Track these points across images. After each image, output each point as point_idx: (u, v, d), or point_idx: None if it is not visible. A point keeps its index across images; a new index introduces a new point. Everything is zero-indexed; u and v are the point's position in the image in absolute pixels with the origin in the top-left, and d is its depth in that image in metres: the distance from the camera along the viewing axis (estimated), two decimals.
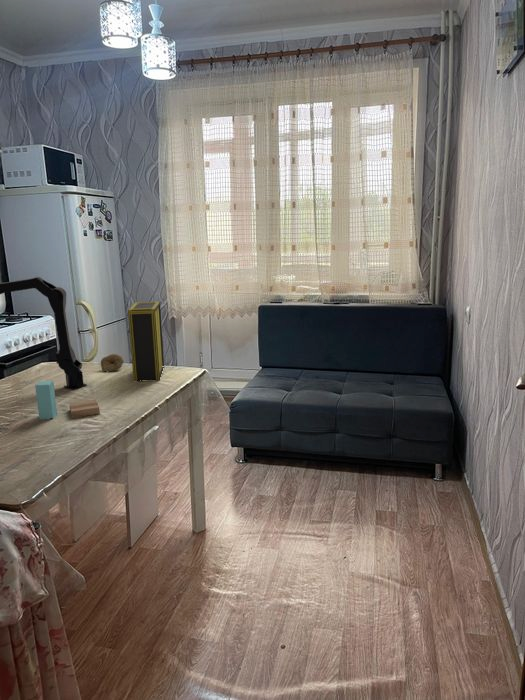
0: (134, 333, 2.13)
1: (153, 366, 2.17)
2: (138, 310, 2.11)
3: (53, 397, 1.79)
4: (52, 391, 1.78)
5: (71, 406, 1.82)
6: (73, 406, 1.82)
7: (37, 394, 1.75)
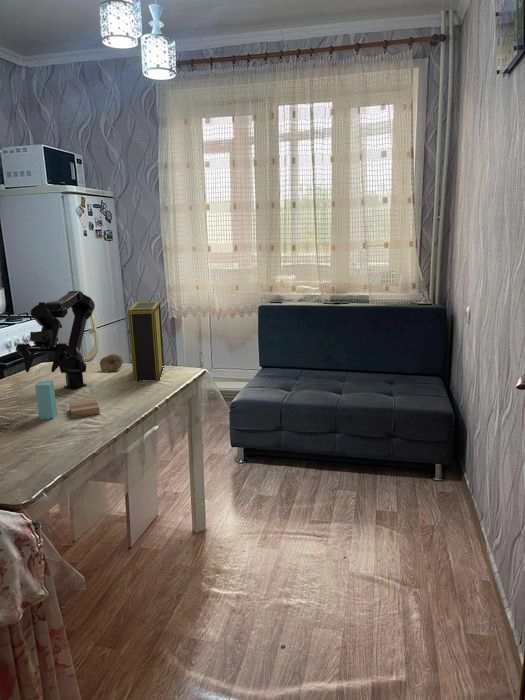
0: (134, 333, 2.13)
1: (153, 366, 2.17)
2: (138, 310, 2.11)
3: (53, 397, 1.79)
4: (52, 391, 1.78)
5: (71, 406, 1.82)
6: (73, 406, 1.82)
7: (37, 394, 1.75)
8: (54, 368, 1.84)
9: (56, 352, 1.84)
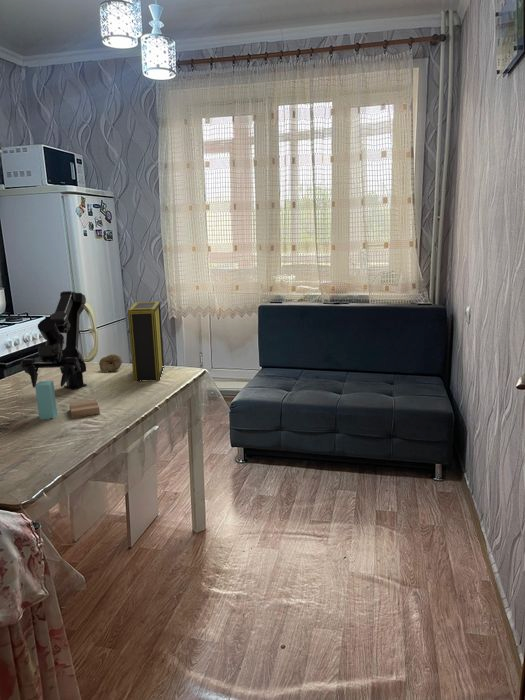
0: (134, 333, 2.13)
1: (153, 366, 2.17)
2: (138, 310, 2.11)
3: (53, 397, 1.79)
4: (52, 391, 1.78)
5: (71, 406, 1.82)
6: (73, 406, 1.82)
7: (37, 394, 1.75)
8: (63, 382, 1.81)
9: (65, 366, 1.82)
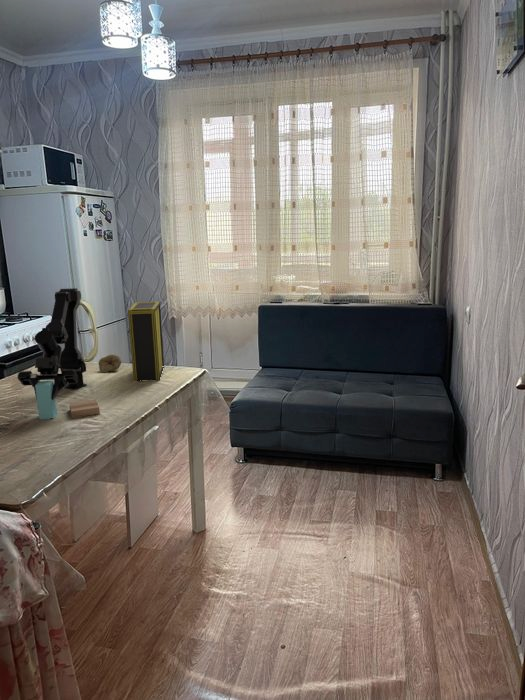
0: (134, 333, 2.13)
1: (153, 366, 2.17)
2: (138, 310, 2.11)
3: None
4: None
5: (71, 406, 1.82)
6: (73, 406, 1.82)
7: (37, 394, 1.75)
8: (54, 395, 1.78)
9: (56, 379, 1.78)
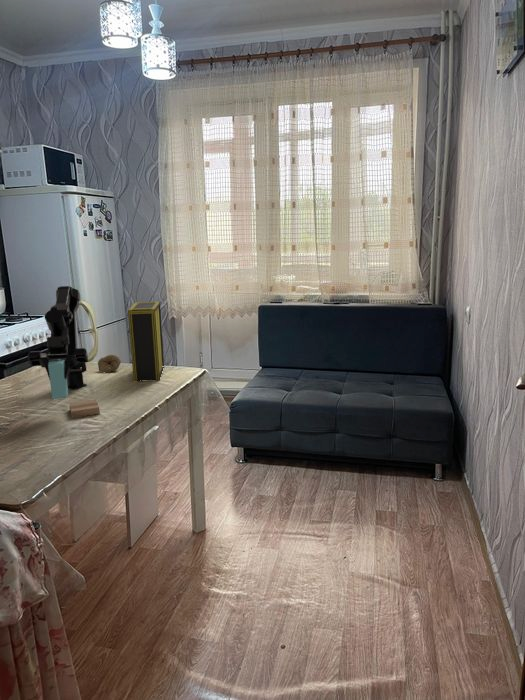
0: (134, 333, 2.13)
1: (153, 366, 2.17)
2: (138, 310, 2.11)
3: None
4: (64, 370, 1.78)
5: (71, 406, 1.82)
6: (73, 406, 1.82)
7: (50, 373, 1.74)
8: (67, 374, 1.77)
9: (68, 358, 1.78)
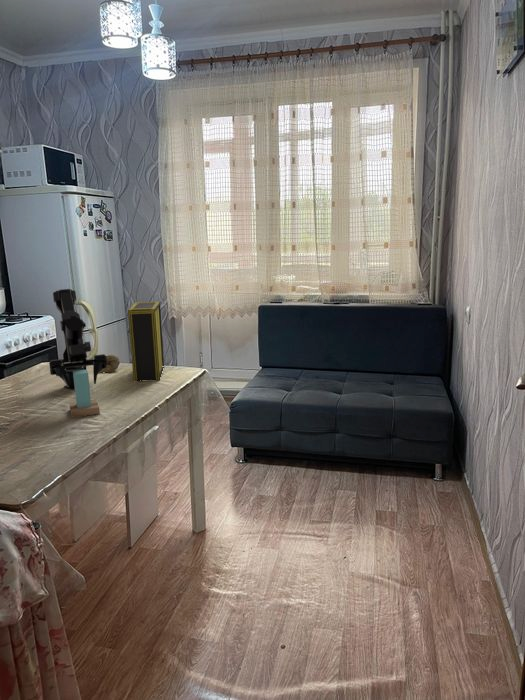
0: (134, 333, 2.13)
1: (153, 366, 2.17)
2: (138, 310, 2.11)
3: None
4: None
5: (71, 406, 1.82)
6: (73, 406, 1.82)
7: (76, 383, 1.78)
8: None
9: (95, 364, 1.83)
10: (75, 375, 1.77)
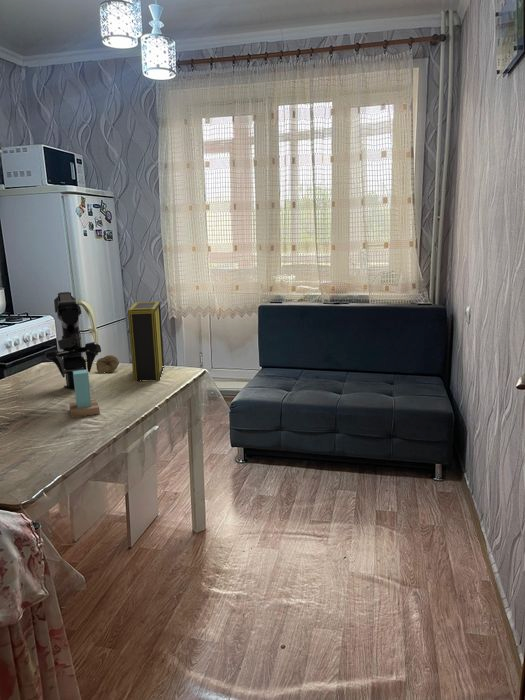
0: (134, 333, 2.13)
1: (153, 366, 2.17)
2: (138, 310, 2.11)
3: None
4: None
5: (71, 406, 1.82)
6: (73, 406, 1.82)
7: (76, 383, 1.78)
8: (89, 368, 1.92)
9: (87, 353, 1.90)
10: (75, 375, 1.77)
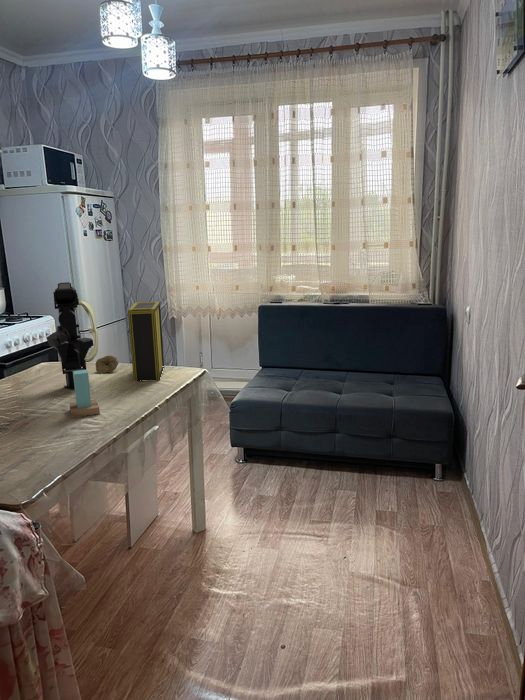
0: (134, 333, 2.13)
1: (153, 366, 2.17)
2: (138, 310, 2.11)
3: None
4: None
5: (71, 406, 1.82)
6: (73, 406, 1.82)
7: (76, 383, 1.78)
8: (81, 362, 1.94)
9: (76, 350, 1.90)
10: (75, 375, 1.77)
